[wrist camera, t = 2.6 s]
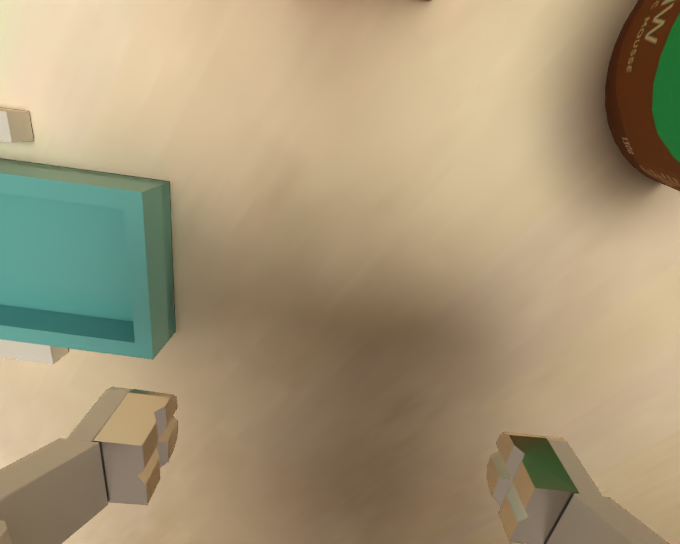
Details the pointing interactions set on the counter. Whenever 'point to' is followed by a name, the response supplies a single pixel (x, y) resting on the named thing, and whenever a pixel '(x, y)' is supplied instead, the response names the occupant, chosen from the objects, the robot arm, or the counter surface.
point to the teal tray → (85, 259)
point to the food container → (647, 90)
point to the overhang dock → (8, 129)
